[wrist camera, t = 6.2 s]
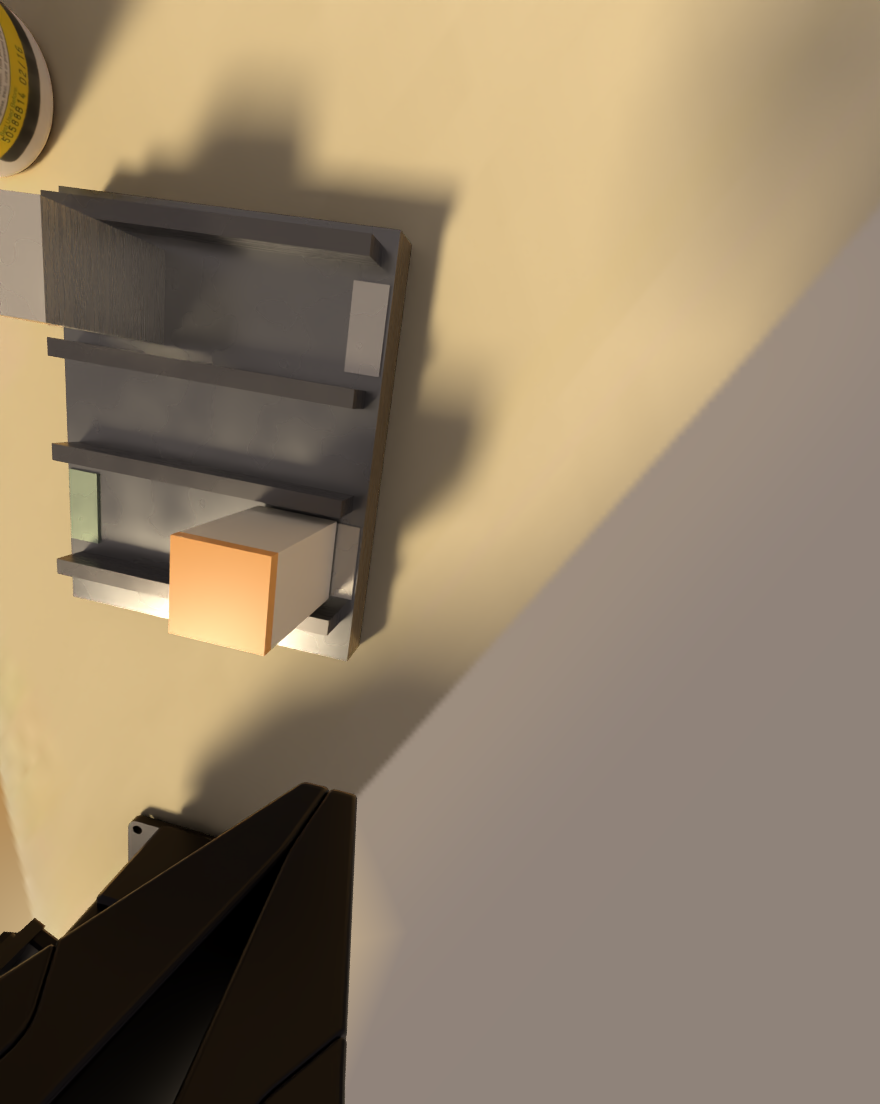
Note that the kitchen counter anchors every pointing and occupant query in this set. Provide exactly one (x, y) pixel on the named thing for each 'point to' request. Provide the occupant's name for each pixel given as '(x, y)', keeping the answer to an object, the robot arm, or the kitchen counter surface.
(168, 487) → the breaker panel
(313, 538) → the block
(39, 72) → the supplement bottle
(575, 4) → the kitchen counter surface
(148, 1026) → the robot arm
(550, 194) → the kitchen counter surface
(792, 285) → the kitchen counter surface
